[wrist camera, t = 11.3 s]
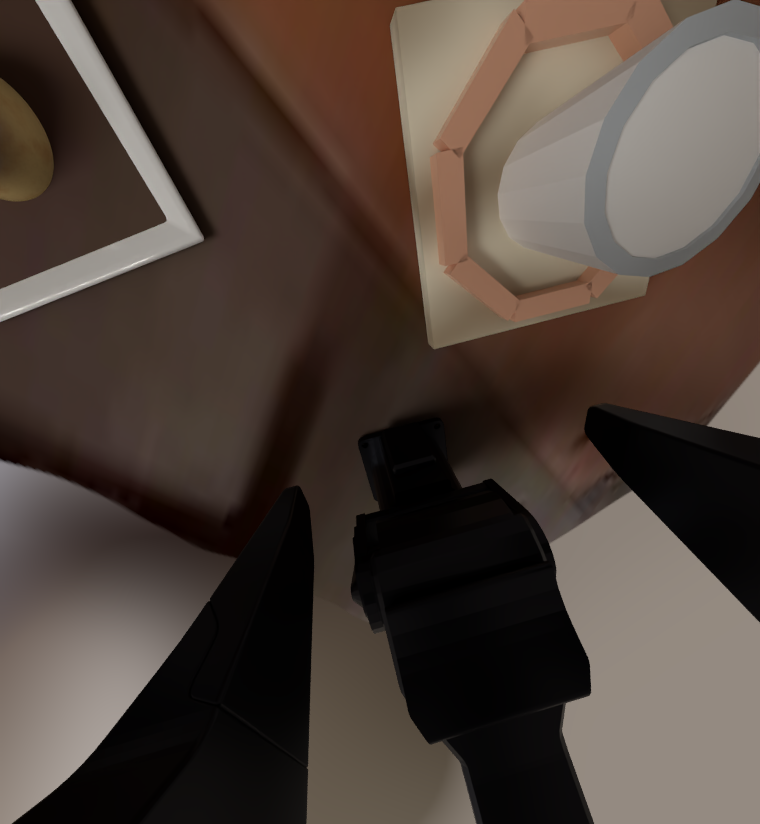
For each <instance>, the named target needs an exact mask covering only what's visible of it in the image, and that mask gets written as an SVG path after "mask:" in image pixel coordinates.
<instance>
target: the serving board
mask: <svg viewBox="0 0 760 824" xmlns="http://www.w3.org/2000/svg"><path fill="white" fill-rule="evenodd" d="M523 1H524V0H431V1H426V2H421V3H417V4H412V5H407V6H402V7H398V8H396V9H395V12H394V15H393V18H392V21H391V24H390V30H391V39H392V47H393V55H394V64H395V72H396V80H397V88H398V97H399V105H400V113H401V121H402V130H403V138H404V146H405V154H406V163H407V171H408V179H409V187H410V196H411V204H412V212H413V220H414V229H415V237H416V245H417V254H418V262H419V270H420V278H421V287H422V295H423V303H424V311H425V320H426V328H427V336H428V343H429V344H430V345H431V346H432V348H433V349H437V348H441V347H445V346H449V345H453V344H456V343H460V342H464V341H468V340H472V339H476V338H480V337H484V336H488V335H492V334H496V333H499V332H503V331H507V330H511V329H515V328H519V327H523V326H527V325H531V324H535V323H539V322H543V321H546V320H550V319H554V318H558V317H562V316H566V315H570V314H574V313H578V312H582V311H586V310H589V309H593V308H597V307H601V306H605V305H609V304H613V303H617V302H621V301H625V300H629V299H633V298H636V297H640V296H644V295H645V294H646V290H647V285H648V281H649V277H641V276H628V275H617V276H616V277H615V279H614V280H613V281H612V282H611V283H610V284H609V285H608V286H607V288H606V289H605V290H604V291H603V292H602V293H601V294H600V296H599V297H598V298H594V297H590V302H589V304H585V305H581V306H577V307H573V308H569V309H565V310H561V311H557V312H554V313H550V314H546V315H542V316H538V317H534V318H530V319H526V320H522V321H518V322H514V321H512V320H508V321H507V320H505V319H503V318H501V317H499V316H498V315H496V314H495V313H494V312H493V311H491V310H490V309H489V308H488V307H486V306H485V305H484V304H483V303H481V302H480V301H479V300H477V299H476V298H475V297H474V296H472V295H471V294H470V293H469V292H467V291H466V290H465V289H464V288H462V287H461V286H460V285H458V284H457V283H456V282H455V281H453V280H452V279H451V278H450V277H448V276H447V275H446V274H445V273H443V272H444V271H445V269H446V268H447V266H443V265H440V264H439V256H438V245H437V234H436V223H435V211H434V200H433V189H432V178H431V166H430V157H431V156H433V155H434V154H436V153H438V152H440V151H439V150H438V149H437V148H436V147H435V146H434V145H433V142H434V140H435V139H436V137H437V135H438V133H439V132H440V130H441V128H442V126H443V125H444V123H445V121H446V119H447V118H448V116H449V114H450V112H451V111H452V109H453V107H454V105H455V104H456V102H457V100H458V98H459V96H460V95H461V93H462V91H463V89H464V88H465V86H466V84H467V82H468V81H469V79H470V77H471V75H472V74H473V72H474V70H475V68H476V67H477V65H478V63H479V61H480V60H481V58H482V56H483V54H484V52H485V51H486V49H487V47H488V45H489V44H490V42H491V40H492V38H493V37H494V35H495V33H496V31H497V30H498V28H499V26H500V24H501V23H502V22H503V21H504V20H505V18H506V17H507V16H508V15H509V14H510V13H511V12H512V10H513V9H515V10H516V9H517V8H518V7H519V6H520V5H521V3H522V2H523ZM660 1H661V3H662V5H663V7H664V9H665V11H666V13H667V15H668V17H669V19H670V21H671V23H672V25H673V27H674V26H676V25H677V24H678V23H680V22H681V21H683V20H684V19H686V18H688V17H690V16H693V15H695V14H698V13H700V12H703V11H706V10H708V9H711V8H713V7H716V3H717V0H660ZM621 63H623V60H622V58H621V57H620V55H619V53H618V52H617V50H616V48H615V47H614V45H613V43H612V42H611V40H610V38H609V37H608V36H604V37H599V38H595V39H590V40H585V41H581V42H576V43H572V44H567V45H563V46H558V47H553V48H549V49H544V50H540V51H535V52H531V53H526V54H523V56H522V57H521V59H520V61H519V62H518V64H517V66H516V67H515V69H514V70H513V72H512V74H511V75H510V77H509V79H508V80H507V82H506V84H505V85H504V87H503V89H502V90H501V92H500V94H499V95H498V97H497V99H496V100H495V102H494V103H493V105H492V107H491V108H490V110H489V112H488V113H487V115H486V117H485V118H484V120H483V122H482V123H481V125H480V127H479V128H478V130H477V131H476V133H475V135H474V136H473V138H472V140H471V141H470V143H469V145H468V146H467V148H466V150H465V151H464V153H463V160H464V183H465V206H466V228H467V251H468V257H470V258H471V259H472V260H473V261H474V262H475V263H477V264H478V265H479V266H480V267H481V268H482V269H484V270H485V271H486V272H487V273H488V274H489V275H491V276H492V277H493V278H494V279H495V280H496V281H498V282H499V283H500V284H501V285H502V286H504V287H505V288H506V289H507V290H508V291H509V292H511V293H512V294H513V295H514V296H517V295H521V294H525V293H529V292H533V291H537V290H541V289H545V288H549V287H553V286H557V285H561V284H565V283H569V282H573V281H577V279H578V278H579V277H580V276H581V275H582V273H583V272H584V271H585V270H586V269H587V267H588V266H586V265H583V264H579V263H576V262H572V261H569V260H565V259H562V258H558V257H555V256H551V255H548V254H544V253H541V252H537V251H534V250H530V249H527V248H524V247H522V246H521V245H519V244H518V243H516V242H515V241H514V240H512V239H511V238H509V236H508V234H507V232H506V230H505V228H504V226H503V224H502V222H501V220H500V216H499V205H498V190H499V185H500V181H501V176H502V172H503V167H504V165H505V163H506V161H507V160H508V158H509V156H510V154H511V152H512V150H513V149H514V147H515V145H516V143H517V141H518V140H519V139H520V138H521V137H522V136H523V135H524V134H525V133H526V132H528V131H529V130H530V129H531V128H532V127H533V126H534V125H535V124H536V123H537V122H538V121H539V120H541V119H542V118H544V117H545V116H547V115H548V114H550V113H551V112H552V111H554V110H555V109H557V108H558V107H560V106H561V105H562V104H564V103H565V102H567V101H568V100H570V99H571V98H572V97H574V96H575V95H577V94H578V93H580V92H581V91H582V90H584V89H585V88H587V87H588V86H590V85H591V84H593V83H594V82H595V81H597V80H598V79H600V78H601V77H603V76H604V75H605V74H607V73H608V72H610V71H611V70H613V69H614V68H615V67H617V66H618V65H620V64H621Z"/></svg>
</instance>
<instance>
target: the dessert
mask: <svg viewBox="0 0 760 824" xmlns="http://www.w3.org/2000/svg"><path fill="white" fill-rule="evenodd" d="M36 2H37V4H38V5H39V7H40V9H41V10H42V12H43V14H44V15H45V17H46V19H47V20H48V22H49V24H50V25H51V27H52V29H53V30H54V32H55V34H56V35H57V37H58V39H59V40H60V42H61V43H62V45H63V47H64V48H65V50H66V52H67V53H68V55H69V57H70V58H71V60H72V62H73V63H74V65H75V67H76V68H77V70H78V72H79V73H80V75H81V77H82V78H83V80H84V82H85V83H86V85H87V87H88V88H89V90H90V92H91V93H92V95H93V96H94V98H95V100H96V101H97V103H98V105H99V106H100V108H101V110H102V111H103V113H104V115H105V116H106V118H107V120H108V121H109V123H110V125H111V126H112V128H113V130H114V131H115V133H116V135H117V136H118V138H119V140H120V141H121V143H122V145H123V146H124V148H125V149H126V151H127V153H128V154H129V156H130V158H131V159H132V161H133V163H134V164H135V166H136V168H137V169H138V171H139V173H140V174H141V176H142V178H143V179H144V181H145V183H146V184H147V186H148V188H149V189H150V191H151V193H152V194H153V196H154V197H155V199H156V201H157V202H158V204H159V206H160V207H161V209H162V211H163V212H164V214H165V216H166V219H167V221H166V222H165V223H163V224H161V225H158V226H156V227H153V228H151V229H148V230H146V231H143V232H141V233H138V234H136V235H133V236H131V237H129V238H126V239H124V240H121V241H119V242H116V243H114V244H111V245H109V246H106V247H104V248H101V249H99V250H96V251H94V252H91V253H89V254H86V255H84V256H81V257H79V258H77V259H74V260H72V261H69V262H67V263H64V264H62V265H59V266H57V267H54V268H52V269H49V270H47V271H44V272H42V273H39V274H37V275H34V276H32V277H29V278H27V279H25V280H22V281H20V282H17V283H15V284H12V285H10V286H7V287H5V288H2V289H0V322H2V321H4V320H7V319H9V318H12V317H14V316H17V315H19V314H22V313H24V312H27V311H29V310H32V309H35V308H37V307H40V306H42V305H45V304H47V303H50V302H52V301H55V300H57V299H60V298H62V297H65V296H67V295H70V294H72V293H75V292H77V291H80V290H82V289H85V288H87V287H90V286H92V285H95V284H97V283H100V282H102V281H105V280H108V279H110V278H113V277H115V276H118V275H120V274H123V273H125V272H128V271H130V270H133V269H135V268H138V267H140V266H143V265H145V264H148V263H150V262H153V261H155V260H158V259H160V258H163V257H165V256H168V255H170V254H173V253H176V252H178V251H181V250H183V249H186V248H188V247H191V246H193V245H196V244H198V243H201V242H203V241H204V236H203V235H202V233H201V231H200V229H199V228H198V226H197V224H196V222H195V220H194V219H193V217H192V215H191V213H190V212H189V210H188V208H187V206H186V204H185V203H184V201H183V199H182V197H181V195H180V194H179V192H178V190H177V188H176V187H175V185H174V183H173V181H172V179H171V178H170V176H169V174H168V172H167V171H166V169H165V167H164V165H163V163H162V162H161V160H160V158H159V156H158V154H157V153H156V151H155V149H154V147H153V146H152V144H151V142H150V140H149V138H148V137H147V135H146V133H145V131H144V130H143V128H142V126H141V124H140V122H139V121H138V119H137V117H136V115H135V113H134V112H133V110H132V108H131V106H130V105H129V103H128V101H127V99H126V97H125V96H124V94H123V92H122V90H121V89H120V87H119V85H118V83H117V81H116V80H115V78H114V76H113V74H112V73H111V71H110V69H109V67H108V65H107V64H106V62H105V60H104V58H103V56H102V55H101V53H100V51H99V49H98V48H97V46H96V44H95V42H94V40H93V39H92V37H91V35H90V33H89V32H88V30H87V28H86V26H85V24H84V23H83V21H82V19H81V17H80V15H79V14H78V12H77V10H76V8H75V7H74V5H73V3H72V1H71V0H36ZM53 170H54V161H53V154H52V149H51V146H50V142H49V140H48V137H47V135H46V133H45V130H44V128H43V126H42V125H41V123H40V121H39V119H38V118H37V116H36V115H35V113H34V112H33V111H32V109H31V108H30V107H29V105H28V104H27V103H26V102H25V100H24V99H23V98H22V97H21V96H20V95H19V94H18V93H17V92H16V91H15V90H14V89H13V88H12V87H11V86H10V85H9V84H7V83H6V82H5V81H4V80H3V79H1V78H0V199H3V200H8V201H26V200H30V199H33V198H36V197H38V196H39V195H41V194H42V193H43V192H44V191H45V190H46V189H47V187H48V186H49V184H50V182H51V179H52V176H53Z"/></svg>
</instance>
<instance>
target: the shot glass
mask: <svg viewBox="0 0 760 824" xmlns="http://www.w3.org/2000/svg"><path fill="white" fill-rule="evenodd" d="M759 183H760V6H757V5H754V4H750V3H747V2H743V1H740V0H731V1H729V2H726V3H724V4H721V5H718V6H716V7H713V8H711V9H708V10H706V11H703V12H700V13H698V14H695V15H693V16H690V17H688V18H686V19H684V20H683V21H681V22H680V23H678V24H677V25H676V26H674V27H673V28H671V29H670V30H668V31H667V32H666V33H664V34H663V35H661V36H660V37H658V38H657V39H656V40H654V41H653V42H651V43H650V44H648V45H647V46H646V47H644V48H643V49H641V50H640V51H638V52H637V53H635V54H634V55H633V56H631V57H630V58H628V59H627V60H625V61H624V62H623V63H621V64H620V65H618V66H617V67H615V68H614V69H613V70H611V71H610V72H608V73H607V74H605V75H604V76H603V77H601V78H600V79H598V80H597V81H595V82H594V83H593V84H591V85H590V86H588V87H587V88H585V89H584V90H582V91H581V92H580V93H578V94H577V95H575V96H574V97H572V98H571V99H570V100H568V101H567V102H565V103H564V104H562V105H561V106H560V107H558V108H557V109H555V110H554V111H552V112H551V113H550V114H548V115H547V116H545V117H544V118H542V119H541V120H539V121H538V122H537V123H536V124H535V125H534V126H533V127H532V128H531V129H530V130H529V131H528V132H526V133H525V134H524V135H523V136H522V137H521V138H520V139H519V140H518V141H517V143H516V145H515V147H514V149H513V150H512V152H511V154H510V156H509V158H508V160H507V161H506V163H505V165H504V167H503V172H502V176H501V181H500V185H499V190H498V205H499V216H500V220H501V222H502V224H503V226H504V228H505V230H506V232H507V234H508V236H509V238H511V239H512V240H514V241H515V242H516V243H518V244H519V245H521V246H522V247H524V248H527V249H530V250H534V251H537V252H541V253H544V254H548V255H551V256H555V257H558V258H562V259H565V260H569V261H572V262H576V263H579V264H583V265H586V266H590V267H593V268H597V269H600V270H604V271H607V272H611V273H614V274H618V275H628V276H641V277H650V276H653V275H656V274H658V273H661V272H664V271H667V270H669V269H672V268H675V267H677V266H680V265H683V264H684V263H685V262H687V261H688V260H689V259H691V258H692V257H693V256H695V255H696V254H697V253H699V252H700V251H701V250H703V249H704V248H705V247H707V246H708V245H709V244H710V243H712V242H713V241H714V240H716V239H717V238H718V237H719V236H720V235H721V234H722V232H723V231H724V230H725V229H726V228H727V226H728V225H729V224H730V223H731V222H732V221H733V219H734V218H735V217H736V216H737V215H738V213H739V212H740V211H741V210H742V209H743V208H744V206H745V205H746V204H747V203H748V202H749V201H750V199H751V198H752V196H753V194H754V192H755V190H756V189H757V187H758V185H759Z"/></svg>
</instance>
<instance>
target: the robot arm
mask: <svg viewBox="0 0 760 824" xmlns="http://www.w3.org/2000/svg"><path fill="white" fill-rule="evenodd" d="M437 423H439V424H438V425H437V426H434V425H435V424H437ZM584 430H585V433H586V435H587V437H588V438H589V439H590V441H591V442H592V443H593V445H594V446H595V447H596V448H597V450H598V451H599V452H600V453H601V455H602V456H603V457H604V458H605V460H606V461H607V462H608V463H609V465H610V466H611V467H612V469H613V470H614V471H615V472H616V473H617V475H618V476H619V477H620V478H621V479H622V480H623V481H624V482H625V483H626V484H627V485H628V486H629V487H630V488H631V489H632V490H633V492H634V493H636V495H637V496H638V497H639V498H640V499H641V500H642V501H643V502H644V503H645V504H646V505H647V506H648V507H649V508H650V509H651V510H652V511H653V512H654V513H655V514H656V515H657V516H658V517H659V518H660V519H661V521H662V522H663V523H664V524H665V525H666V526H668V528H669V529H670V530H671V531H672V532H673V533H674V534H675V535H676V536H677V537H678V538H679V539H680V540H681V541H682V542H683V543H684V544H685V545H686V546H687V547H688V549H689V550H690V551H691V552H692V553H693V554H694V555H695V556H696V557H697V558H698V559H699V560H700V561H701V562H702V563H703V564H704V565H705V566H706V567H707V568H708V569H709V570H710V571H711V572H712V573H713V574H714V575H715V576H716V578H717V579H719V580H720V582H721V583H722V584H723V585H724V586H725V587H726V588H727V589H728V590H729V591H730V592H731V593H732V594H733V595H734V596H735V597H736V598H737V599H738V600H739V601H740V602H741V603H742V604H743V606H744V607H745V608H746V609H747V610H748V611H749V612H750V613H751V614H752V615H753V616H754V617H755V618H756V619H757V620H758V621H759V622H760V438H757V437H753V436H748V435H744V434H739V433H735V432H731V431H726V430H722V429H717V428H712V427H708V426H704V425H700V424H695V423H691V422H686V421H682V420H677V419H673V418H669V417H664V416H660V415H655V414H651V413H647V412H642V411H638V410H633V409H629V408H624V407H620V406H616V405H611V404H607V403H601V404H597V405H594V406H591V407H590V408H589V409H588V411H587V416H586V422H585V427H584ZM363 443H367V444H366V445H362V444H363ZM358 447H359V450H360V453H361V457H362V460H363V463H364V467H365V470H366V473H367V477H368V480H369V483H370V487H371V490H372V493H373V497H374V499H375V500H376V501H378V504H379V509H380V511H377V512H374V513H370V514H366V515H365V513H364V514H360V515H357V516H356V525H357V526H356V527H354V537H353V546H354V556H355V566H354V571H353V577H352V583H351V595H352V599H353V601H354V602H356V603H357V604H358V605H360V606H361V607H362V608H363V609H364V612H365V615H366V617H367V618H368V620H369V623H370V626H371V629H372V630H373V633H375V634H376V633H379V632H382V631H386V634H387V638H388V642H389V646H390V650H391V654H392V658H393V662H394V666H395V670H396V675H397V679H398V683H399V687H400V690H401V693H402V694H403V696H404V697H405V699H406V703H407V707H408V712H409V715H410V717H411V719H412V721H413V722H414V723H415V725H416V726H417V728H418V729H419V730H420V732H421V734H422V735H423V736H424V738H425V739H426V741H427V742H428V743H429V744H434V743H437V742H440V741H443V743H444V744H445V745H446V746H447V747H448V748H449V749H450V751H451V752H452V753H453V754H454V755H455V756H456V758H457V759H458V760H459V761H460V763H461V767H462V771H463V775H464V778H465V782H466V786H467V790H468V793H469V797H470V801H471V805H472V809H473V813H474V816H475V820H476V824H594V822H593V819H592V816H591V814H590V811H589V808H588V805H587V802H586V800H585V797H584V794H583V791H582V788H581V786H580V783H579V780H578V777H577V774H576V772H575V769H574V766H573V763H572V760H571V758H570V755H569V752H568V749H567V746H566V743H565V740H564V737H563V733H562V726H563V719H564V711H565V705H566V703H567V702H570V701H574V700H577V699H580V698H584V697H587V696H589V695H590V693H591V681H590V680H591V679H590V664H589V660H588V657H587V655H586V653H585V650H584V648H583V646H582V644H581V642H580V640H579V638H578V635H577V633H576V631H575V629H574V627H573V625H572V622H571V620H570V618H569V615H568V613H567V611H566V608H565V606H564V603H563V600H562V597H561V595H560V591H559V589H558V585H557V581H556V565H555V561H554V557H553V553H552V551H551V548H550V545H549V543H548V540H547V538H546V536H545V534H544V532H543V531H542V529H541V527H540V526H539V524H538V522H537V521H536V520H535V518H534V517H533V516H532V515H531V514H530V512H529V511H528V510H527V509H525V508H524V507H523V506H522V505H521V504H520V503H519V502H518V501H516V500H515V499H514V498H513V497H512V496H511V495H510V494H508V493H507V492H506V491H505V490H504V489H503V488H502V487H501V486H499V485H498V484H497V483H496V482H495V481H494V480H493V479H488V480H484V481H483V483H479V484H476V485H472V486H468V487H465V488H462V487H461V485H460V483H459V481H458V479H457V478H456V476H455V474H454V472H453V470H452V468H451V467H450V465H449V463H448V460H447V450H446V441H445V432H444V424H443V422H442V420H441V419H440V418H433V419H429V420H425V421H422V422H418V423H412V424H408V425H404V426H401V427H397V428H393V429H389V430H385V431H384V432H380V433H376V434H372V435H369V436H365V437H362V438H360V439H359V441H358ZM313 583H314V553H313V541H312V530H311V518H310V509H309V505H308V503H307V501H306V498H305V496H304V494H303V492H302V490H301V488H300V487H299V486H293V487H289V488H286V489H284V491H283V492H282V493H281V495H280V496H279V498H278V499H277V501H276V502H275V504H274V505H273V507H272V508H271V509H270V511H269V512H268V514H267V515H266V517H265V518H264V520H263V521H262V523H261V524H260V526H259V527H258V529H257V530H256V532H255V533H254V534H253V536H252V537H251V539H250V540H249V542H248V543H247V545H246V546H245V548H244V549H243V551H242V552H241V554H240V555H239V556H238V558H237V559H236V561H235V563H234V564H233V566H232V567H231V568H230V570H229V571H228V573H227V574H226V576H225V577H224V579H223V580H222V582H221V583H220V584H219V586H218V587H217V589H216V590H215V592H214V593H213V595H212V596H211V598H210V601H208V602H207V603H206V605H205V606H204V608H203V609H202V611H201V612H200V614H199V615H198V617H197V618H196V619H195V621H194V622H193V624H192V625H191V626H190V628H189V629H188V631H187V632H186V633H185V635H184V636H183V638H182V639H181V641H180V642H179V643H178V645H177V646H176V647H175V649H174V650H173V651H172V653H171V654H170V655H169V656H168V658H167V659H166V660H165V662H164V663H163V664H162V666H161V667H160V668H159V670H158V671H157V672H156V673H155V675H154V676H153V677H152V679H151V680H150V681H149V682H148V684H147V685H146V686H145V687H144V689H143V690H142V691H141V693H140V694H139V695H138V697H137V698H136V699H135V700H134V702H133V703H132V704H131V705H130V707H129V708H128V709H127V710H126V712H125V713H124V714H123V716H122V717H121V718H120V720H119V721H118V722H117V723H116V725H115V726H114V727H113V728H112V730H111V731H110V732H109V734H108V735H107V736H106V737H105V739H104V740H103V741H102V742H101V743H100V745H99V746H98V747H97V749H96V750H95V751H94V752H93V753H92V754H91V755H90V756H89V758H88V759H87V760H86V761H85V762H84V763H83V764H82V765H81V766H80V767H79V768H78V769H77V770H76V771H75V772H74V773H73V774H72V775H71V776H70V777H69V778H68V779H67V780H66V781H65V782H63V783H62V784H61V785H60V786H59V787H58V788H57V789H55V790H54V791H53V792H52V793H51V794H50V795H48V796H47V797H46V798H44V799H43V800H42V801H40V802H39V803H38V804H37V805H35V806H34V807H33V808H31V809H30V810H29V811H28V812H26V813H25V814H24V815H22V816H21V817H20V818H18V819H17V820H16V821H15V822H13V823H12V824H306V819H307V786H308V785H307V783H308V769H307V767H308V747H309V714H310V682H311V649H312V648H311V647H312V615H313Z"/></svg>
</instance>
